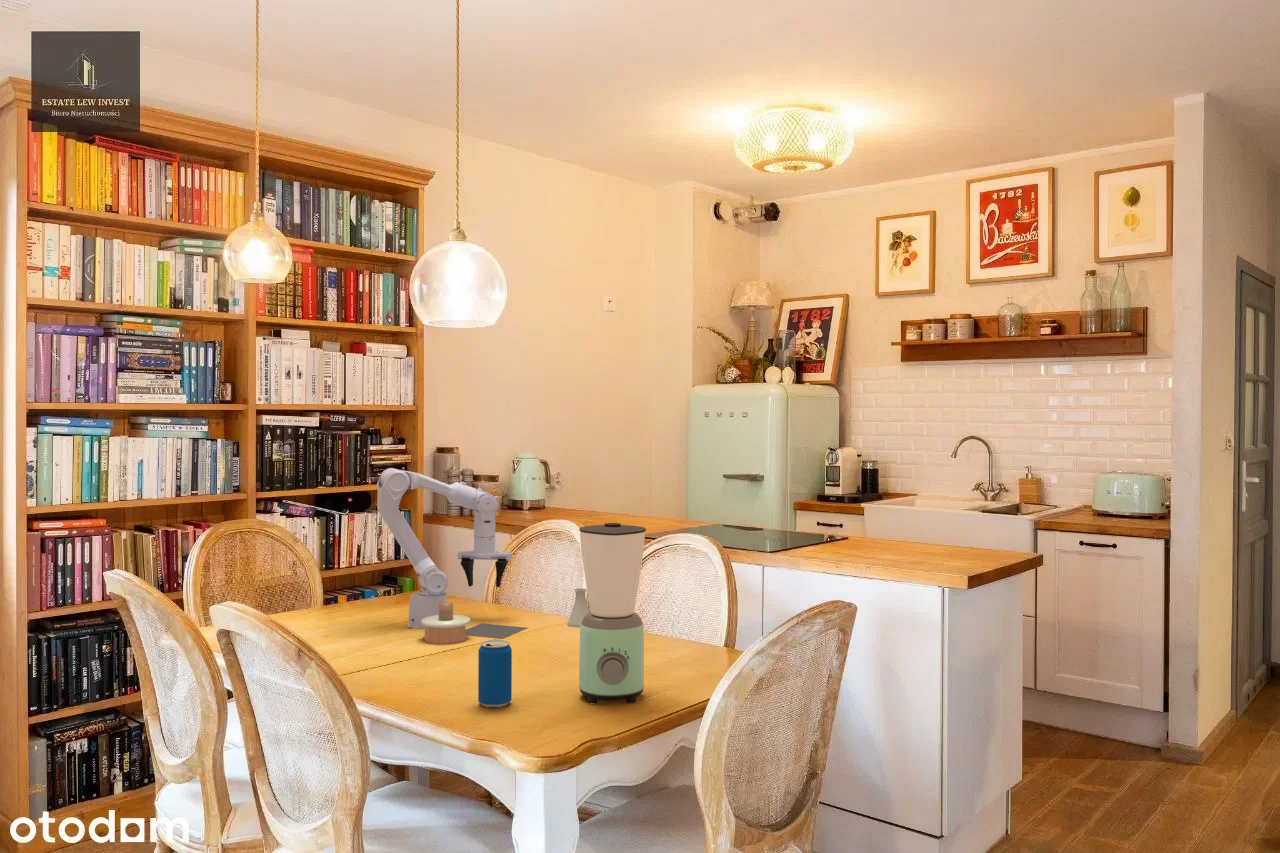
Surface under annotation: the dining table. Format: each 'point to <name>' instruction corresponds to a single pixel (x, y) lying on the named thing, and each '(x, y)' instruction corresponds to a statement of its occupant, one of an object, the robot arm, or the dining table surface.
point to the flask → (578, 608)
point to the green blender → (612, 613)
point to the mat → (493, 631)
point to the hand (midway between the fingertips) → (484, 586)
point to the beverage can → (495, 673)
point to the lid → (445, 618)
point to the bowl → (445, 635)
